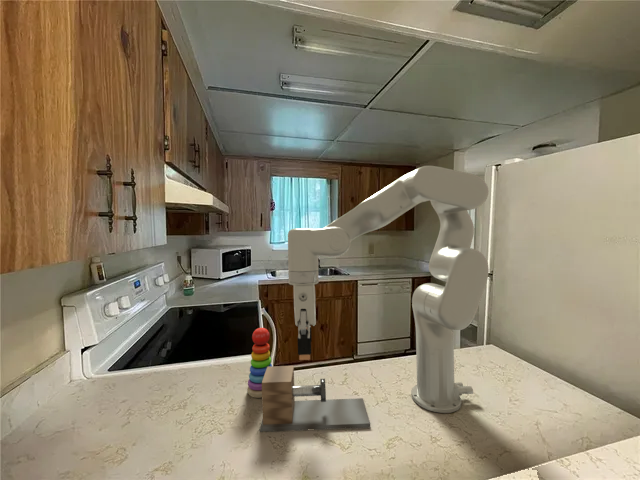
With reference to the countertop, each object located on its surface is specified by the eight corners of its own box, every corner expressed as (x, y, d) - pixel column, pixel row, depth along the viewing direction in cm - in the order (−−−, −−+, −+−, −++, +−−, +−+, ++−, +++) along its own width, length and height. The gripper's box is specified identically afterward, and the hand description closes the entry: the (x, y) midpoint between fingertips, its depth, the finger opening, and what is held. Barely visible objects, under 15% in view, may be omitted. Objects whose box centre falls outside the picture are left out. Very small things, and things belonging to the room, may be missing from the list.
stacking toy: (268, 400, 77) (266, 333, 76) (242, 398, 78) (240, 332, 78) (278, 385, 84) (276, 324, 84) (254, 383, 86) (252, 323, 86)
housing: (362, 401, 75) (361, 361, 75) (370, 427, 65) (369, 380, 65) (267, 405, 74) (266, 364, 74) (260, 431, 64) (258, 385, 64)
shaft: (325, 394, 72) (324, 374, 72) (326, 406, 67) (325, 385, 67) (265, 396, 72) (264, 376, 72) (261, 409, 67) (260, 387, 67)
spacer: (310, 348, 73) (309, 326, 72) (309, 359, 66) (309, 334, 66) (300, 349, 72) (300, 326, 72) (299, 359, 66) (298, 335, 66)
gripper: (319, 282, 60) (320, 363, 61) (318, 272, 78) (319, 335, 78) (284, 283, 60) (286, 364, 61) (291, 273, 78) (292, 336, 78)
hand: (305, 347), depth 69 cm, fingers closed on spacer, 6 cm apart
